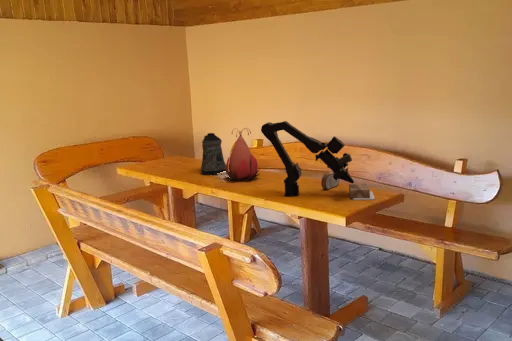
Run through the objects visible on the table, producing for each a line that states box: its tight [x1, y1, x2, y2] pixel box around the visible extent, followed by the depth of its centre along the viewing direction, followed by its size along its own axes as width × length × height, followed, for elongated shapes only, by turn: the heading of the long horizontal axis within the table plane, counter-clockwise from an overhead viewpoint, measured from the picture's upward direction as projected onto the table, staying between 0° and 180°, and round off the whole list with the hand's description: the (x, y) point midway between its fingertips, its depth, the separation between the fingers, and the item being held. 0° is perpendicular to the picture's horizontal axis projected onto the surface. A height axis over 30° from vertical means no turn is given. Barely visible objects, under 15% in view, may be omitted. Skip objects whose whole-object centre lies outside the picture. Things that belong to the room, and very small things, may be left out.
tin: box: [320, 170, 340, 190], centre depth 252 cm, size 15×3×8 cm, turn 141°
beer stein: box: [200, 132, 226, 176], centre depth 303 cm, size 16×19×25 cm
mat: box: [352, 190, 376, 201], centre depth 234 cm, size 10×14×1 cm
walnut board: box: [348, 183, 371, 199], centre depth 234 cm, size 4×12×9 cm
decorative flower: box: [224, 127, 261, 182], centre depth 280 cm, size 22×23×30 cm
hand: (353, 182), depth 233 cm, fingers closed
